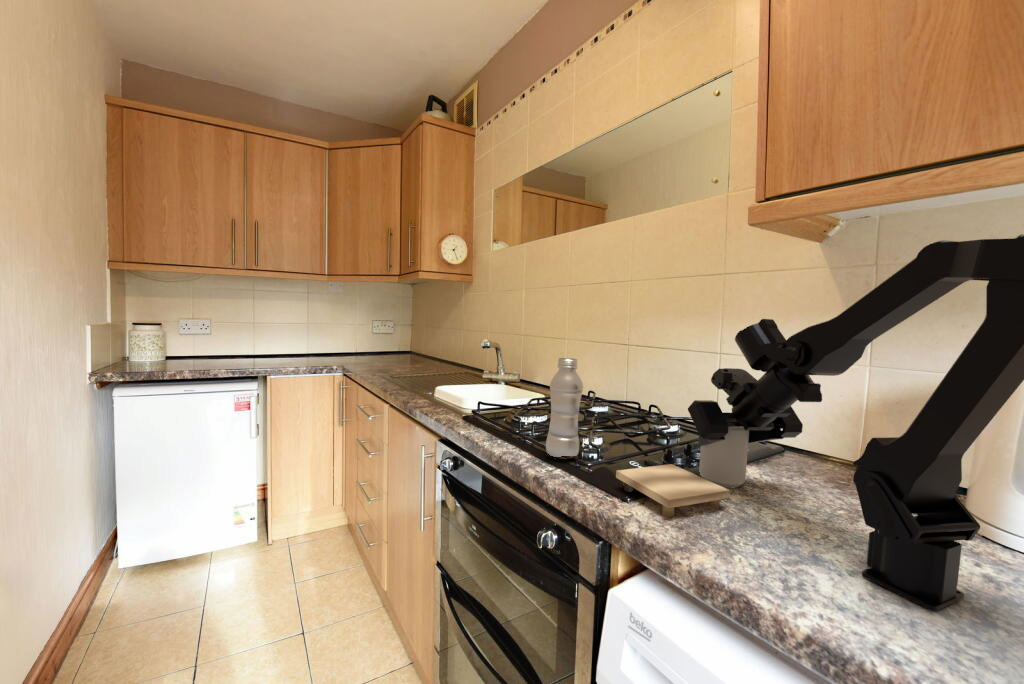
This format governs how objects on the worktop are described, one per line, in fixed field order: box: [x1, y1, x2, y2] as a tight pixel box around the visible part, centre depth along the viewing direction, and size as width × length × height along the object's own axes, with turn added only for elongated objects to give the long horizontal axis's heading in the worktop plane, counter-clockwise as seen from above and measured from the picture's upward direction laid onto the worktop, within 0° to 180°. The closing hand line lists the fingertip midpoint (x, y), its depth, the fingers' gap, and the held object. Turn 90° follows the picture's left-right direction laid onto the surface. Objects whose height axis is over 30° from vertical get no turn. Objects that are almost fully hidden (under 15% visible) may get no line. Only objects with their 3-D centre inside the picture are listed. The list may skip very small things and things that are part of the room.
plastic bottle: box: [545, 357, 584, 457], centre depth 85 cm, size 6×7×20 cm
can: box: [698, 428, 749, 489], centre depth 77 cm, size 8×8×12 cm
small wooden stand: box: [615, 463, 731, 518], centre depth 68 cm, size 12×12×3 cm
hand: (718, 442), depth 78 cm, fingers closed on can, 7 cm apart
